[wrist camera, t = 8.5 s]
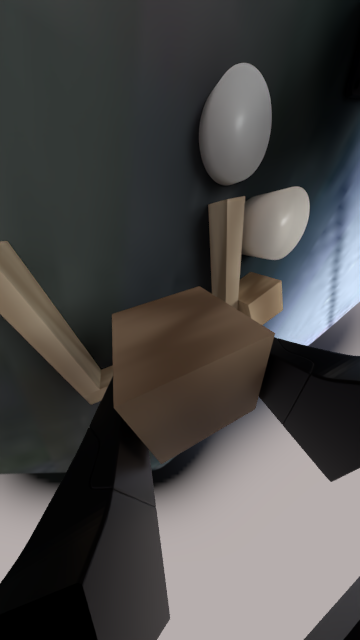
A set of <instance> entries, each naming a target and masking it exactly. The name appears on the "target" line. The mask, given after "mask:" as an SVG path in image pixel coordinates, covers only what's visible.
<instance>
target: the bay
mask: <svg viewBox="0 0 360 640" xmlns="http://www.w3.org/2000/svg"><path fill="white" fill-rule="evenodd" d="M244 206H245V196H243V197H237V198H232V199H226V200H223V201H219V202H215V203H212V204H208V209H209V233H210V257H211V281H212V294H213V295H214V296H216V297H218V298H219V299H221V300H222V301H224V302H226V303H227V304H229V305H230V306H232V307H234V308H235V309H238V295H239V280H240V265H241V250H242V236H243V221H244ZM0 314H1V315H2V316H3V317H4V318H5V319H6V320H7V321H8V322H9V323H10V324H11V325H12V326H13V327H14V328H15V329H16V330H17V331H18V332H19V333H20V334H21V335H22V336H23V337H24V338H25V339H26V340H27V341H28V342H29V343H30V344H31V345H32V346H33V347H34V348H35V349H36V350H37V351H38V352H39V353H40V354H41V355H42V356H43V357H44V358H45V359H46V360H47V361H48V362H49V363H50V364H51V365H52V366H53V367H54V368H55V369H56V370H57V371H58V372H59V373H60V374H61V375H62V376H63V377H64V378H65V379H66V380H67V381H68V382H69V383H70V384H71V385H72V386H73V387H74V388H75V389H76V390H77V391H78V392H79V393H80V394H81V395H82V396H83V397H84V398H85V399H86V400H87V401H88V402H89V403H90V404H91V405H92V404H94V403H96V402H99V401H101V400H102V398H103V396H104V394H105V391H106V389H107V387H108V385H109V383H110V381H111V378H112V376H113V365H112V366H110V367H107V368H105V369H102V370H101V369H100V368H99V366H98V365H97V364H96V362H95V361H94V359H93V358H92V357H91V355H90V354H89V353H88V351H87V350H86V348H85V347H84V346H83V344H82V343H81V342H80V340H79V339H78V337H77V336H76V335H75V333H74V332H73V331H72V329H71V328H70V326H69V325H68V324H67V322H66V321H65V320H64V318H63V317H62V315H61V314H60V313H59V311H58V310H57V309H56V307H55V306H54V304H53V303H52V302H51V300H50V299H49V298H48V296H47V295H46V293H45V292H44V291H43V289H42V288H41V287H40V285H39V284H38V282H37V281H36V280H35V278H34V277H33V276H32V274H31V273H30V271H29V270H28V269H27V267H26V266H25V265H24V263H23V262H22V260H21V259H20V258H19V256H18V255H17V254H16V252H15V251H14V249H13V248H12V247H11V245H10V244H9V242H8V241H0Z"/></svg>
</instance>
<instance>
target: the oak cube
mask: <svg viewBox="0 0 360 640" xmlns="http://www.w3.org/2000/svg"><path fill="white" fill-rule="evenodd" d="M237 310H238V311H240V312H242V313H243V314H245V315H246V316H248V317H250V318H251V319H253V320H254V321H256V322H258V323H259V324H261V325H263V324H265V323H266V322H267V321H269V320H270V319H271V318H273V317H274V316H275V315H277V314H278V313H279V312H281V311H282V310H283V302H282V282H281V281H280V280H277V279H274V278H270V277H267V276H263V275H260V274H256V273H253V272H250V273H248V274H247V275H246V276H244V277H243V278H242V279H240V280H239V295H238V309H237Z"/></svg>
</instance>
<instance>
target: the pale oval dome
mask: <svg viewBox="0 0 360 640" xmlns="http://www.w3.org/2000/svg"><path fill="white" fill-rule="evenodd" d="M309 211H310V203H309V198H308V195H307V193H306V191H305V190H304V189H303V188H301V187H297V186H296V187H290V188H286V189H282V190H278V191H274V192H270V193H266V194H262V195H257V196H254V197H252V198H250V199H248V200H247V201H246V202H245V206H244V221H243V236H242V250H241V254H243V255H247V256H253V257H259V258H265V259H270V260H278V259H281V258H283V257H285V256H286V255H287V254H289V253H290V252H291V251H292V250H293V249H294V247H295V246H296V245H297V243H298V242H299V240H300V239H301V237H302V235H303V233H304V230H305V228H306V225H307V222H308V218H309Z"/></svg>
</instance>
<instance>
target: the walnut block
mask: <svg viewBox="0 0 360 640" xmlns="http://www.w3.org/2000/svg"><path fill="white" fill-rule="evenodd" d="M274 335H275V333H274V332H272V331H270V330H269V329H267V328H266V327H264V326H262V325H261V324H259V323H258V322H256V321H254V320H253V319H251V318H250V317H248V316H246V315H245V314H243V313H242V312H240V311H238V310H237V309H235V308H234V307H232V306H230V305H229V304H227V303H226V302H224V301H222V300H221V299H219V298H218V297H216V296H214V295H213V294H211V293H210V292H208V291H206V290H205V289H203V288H202V287H200V286H198V287H195V288H192V289H189V290H186V291H183V292H180V293H177V294H173V295H170V296H167V297H164V298H161V299H158V300H155V301H151V302H148V303H145V304H142V305H139V306H136V307H133V308H130V309H126V310H123V311H120V312H117V313H114V314H112V346H113V402H114V409H115V410H116V411H117V412H118V413H119V415H120V416H121V417H122V418H123V419H124V420H125V422H126V423H127V424H128V425H129V426H130V428H131V429H132V430H133V431H134V432H135V433H136V435H137V436H138V437H139V438H140V439H141V441H142V442H143V443H144V444H145V445H146V446H147V448H148V449H149V450H150V451H151V452H152V454H153V455H154V456H155V457H156V458H157V459H158V461H159V462H160V463H161V464H162V463H164V462H166V461H168V460H169V459H171V458H173V457H174V456H176V455H178V454H179V453H181V452H183V451H185V450H186V449H188V448H190V447H191V446H193V445H195V444H196V443H198V442H200V441H201V440H203V439H205V438H207V437H208V436H210V435H212V434H213V433H215V432H217V431H218V430H220V429H222V428H223V427H225V426H227V425H229V424H230V423H232V422H234V421H236V420H237V419H239V418H241V417H242V416H244V415H245V414H248V413H249V412H251V411H253V410H254V409H255V408H256V404H257V400H258V396H259V392H260V388H261V385H262V381H263V377H264V373H265V369H266V366H267V362H268V358H269V354H270V350H271V346H272V343H273V339H274Z"/></svg>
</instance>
